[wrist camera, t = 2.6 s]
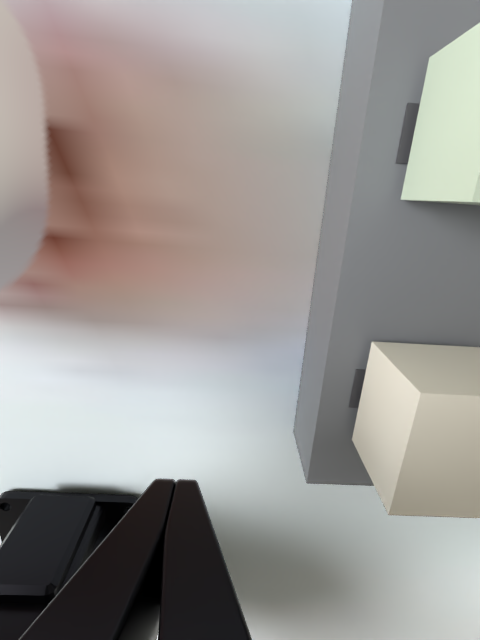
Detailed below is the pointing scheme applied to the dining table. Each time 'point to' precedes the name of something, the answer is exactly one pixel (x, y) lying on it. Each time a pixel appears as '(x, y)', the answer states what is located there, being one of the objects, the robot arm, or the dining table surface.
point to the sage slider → (448, 127)
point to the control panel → (382, 232)
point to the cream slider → (422, 428)
